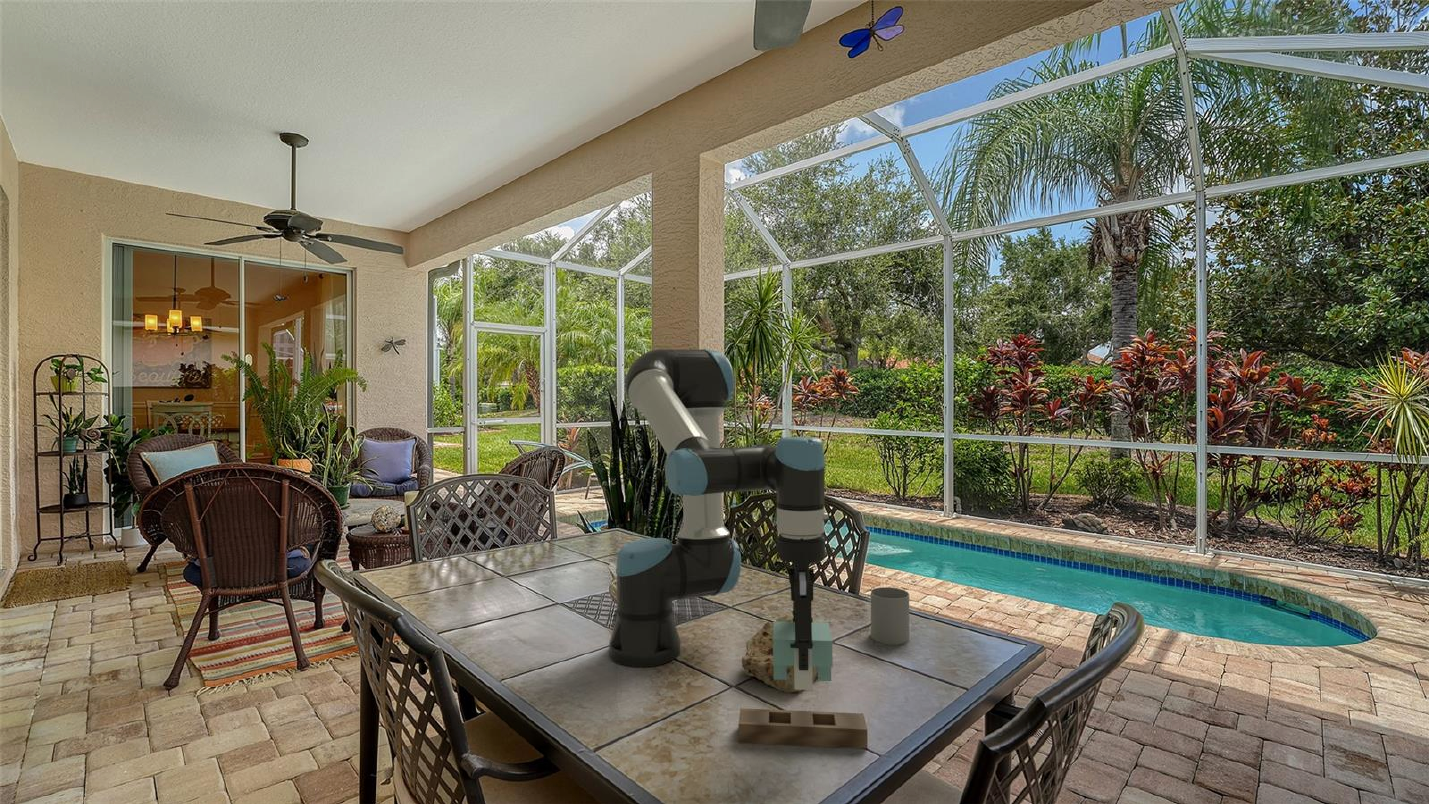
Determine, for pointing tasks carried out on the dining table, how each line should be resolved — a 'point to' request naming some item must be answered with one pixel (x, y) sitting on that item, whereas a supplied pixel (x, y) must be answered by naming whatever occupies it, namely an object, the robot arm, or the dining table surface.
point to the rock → (768, 659)
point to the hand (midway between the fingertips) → (802, 676)
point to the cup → (890, 615)
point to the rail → (802, 728)
